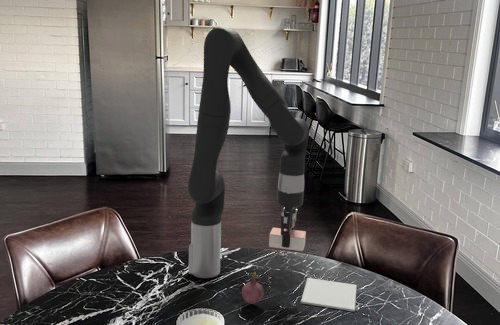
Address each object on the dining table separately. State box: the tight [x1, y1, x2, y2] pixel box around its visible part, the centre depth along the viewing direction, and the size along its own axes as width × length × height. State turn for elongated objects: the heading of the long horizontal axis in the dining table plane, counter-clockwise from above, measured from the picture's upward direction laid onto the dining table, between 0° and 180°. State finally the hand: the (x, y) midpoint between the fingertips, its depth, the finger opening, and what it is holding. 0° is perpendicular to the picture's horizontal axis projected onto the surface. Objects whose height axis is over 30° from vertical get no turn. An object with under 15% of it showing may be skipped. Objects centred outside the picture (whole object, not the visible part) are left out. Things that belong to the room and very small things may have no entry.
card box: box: [268, 227, 307, 252], centre depth 141 cm, size 10×6×4 cm, turn 77°
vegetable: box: [241, 271, 265, 305], centre depth 133 cm, size 6×6×10 cm
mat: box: [300, 277, 358, 312], centre depth 141 cm, size 15×15×1 cm
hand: (287, 242), depth 142 cm, fingers closed on card box, 5 cm apart
